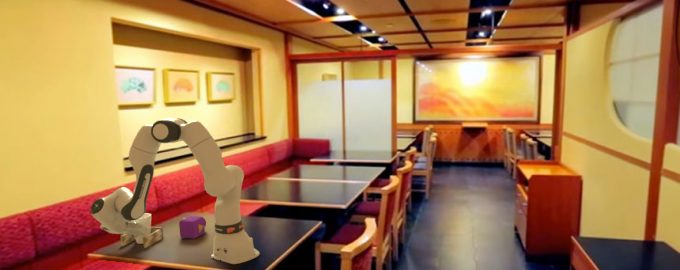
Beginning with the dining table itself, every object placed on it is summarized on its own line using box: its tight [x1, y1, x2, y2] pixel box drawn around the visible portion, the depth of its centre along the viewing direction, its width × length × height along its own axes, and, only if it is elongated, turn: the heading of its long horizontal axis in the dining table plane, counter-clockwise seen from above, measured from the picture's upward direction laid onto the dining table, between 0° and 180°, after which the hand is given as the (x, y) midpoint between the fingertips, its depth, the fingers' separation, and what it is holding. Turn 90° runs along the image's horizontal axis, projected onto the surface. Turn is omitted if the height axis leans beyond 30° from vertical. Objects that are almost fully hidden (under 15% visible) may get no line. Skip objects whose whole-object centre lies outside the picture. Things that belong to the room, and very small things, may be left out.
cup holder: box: [119, 226, 164, 249], centre depth 208 cm, size 13×14×6 cm
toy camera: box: [178, 215, 207, 240], centre depth 215 cm, size 11×14×10 cm
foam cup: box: [130, 212, 152, 245], centre depth 208 cm, size 10×9×13 cm
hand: (135, 235), depth 203 cm, fingers closed, pressing on foam cup
